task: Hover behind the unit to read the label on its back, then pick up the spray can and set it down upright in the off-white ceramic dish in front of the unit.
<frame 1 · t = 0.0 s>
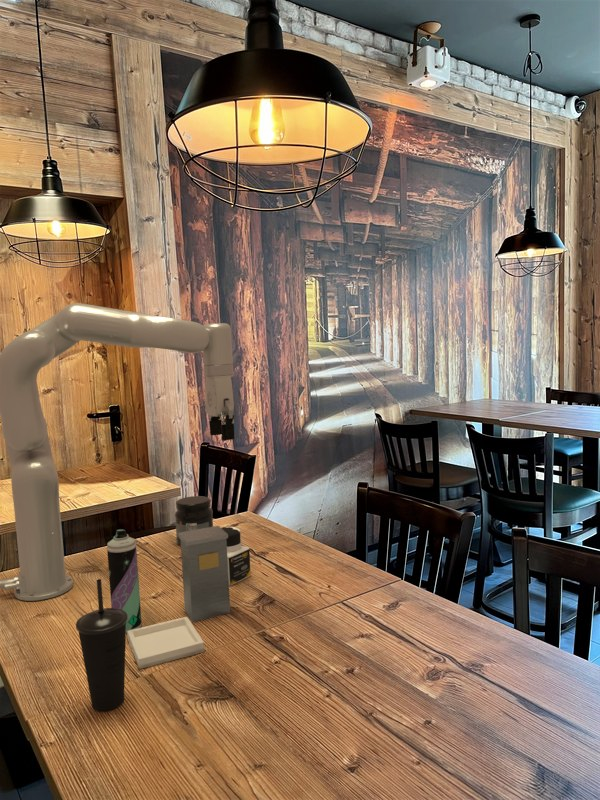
hand: (222, 437, 154), 31 cm above the table, tool pointing down, fingers open, 9 cm apart
medicine bottle: (230, 578, 141), on the table
spray can: (127, 628, 118), on the table
drinking cup: (108, 703, 93), on the table
unit: (207, 611, 123), on the table
supplement container: (195, 542, 168), on the table
dish: (165, 645, 110), on the table
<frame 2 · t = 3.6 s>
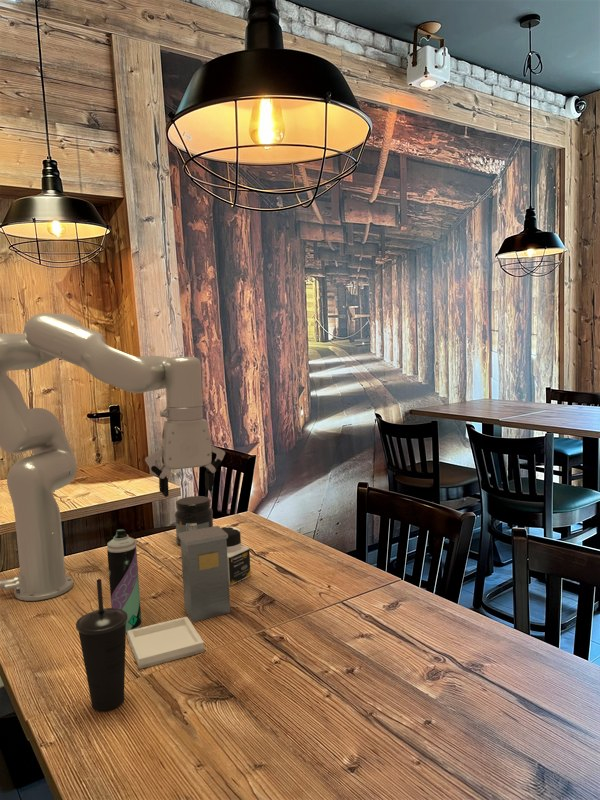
hand: (187, 492, 129), 24 cm above the table, tool pointing down, fingers open, 9 cm apart
nothing on the table moved.
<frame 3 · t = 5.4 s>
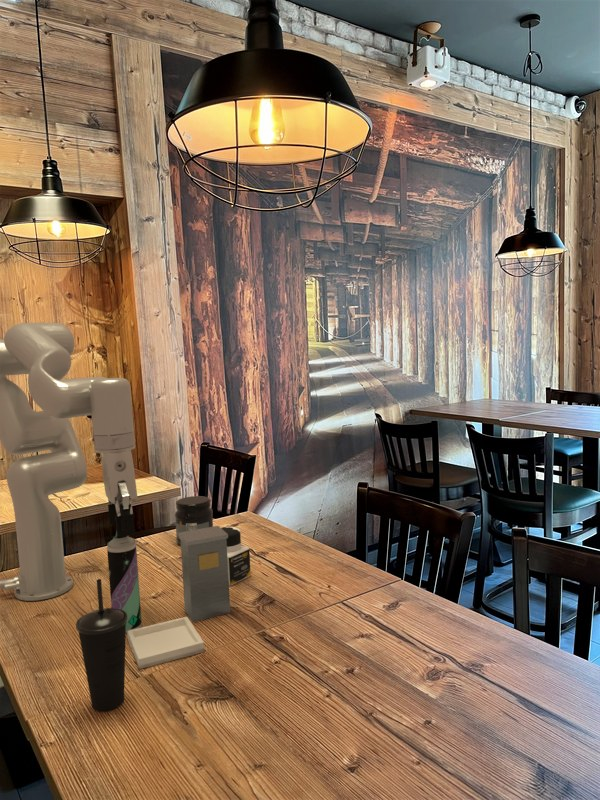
hand: (121, 528, 116), 20 cm above the table, tool pointing down, fingers open, 9 cm apart
nothing on the table moved.
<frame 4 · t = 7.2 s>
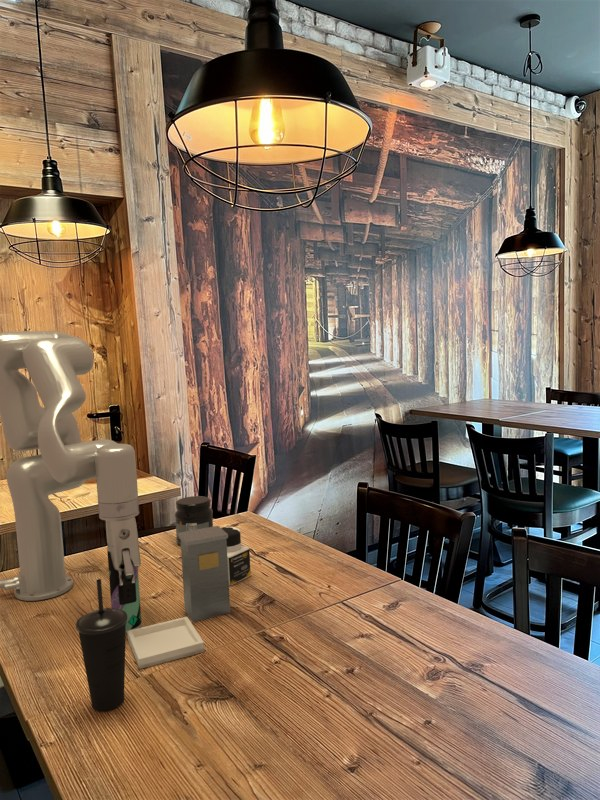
hand: (125, 596, 117), 7 cm above the table, tool pointing down, fingers closed on spray can, 5 cm apart
spray can: (127, 628, 118), on the table, touching gripper
everything else where it was.
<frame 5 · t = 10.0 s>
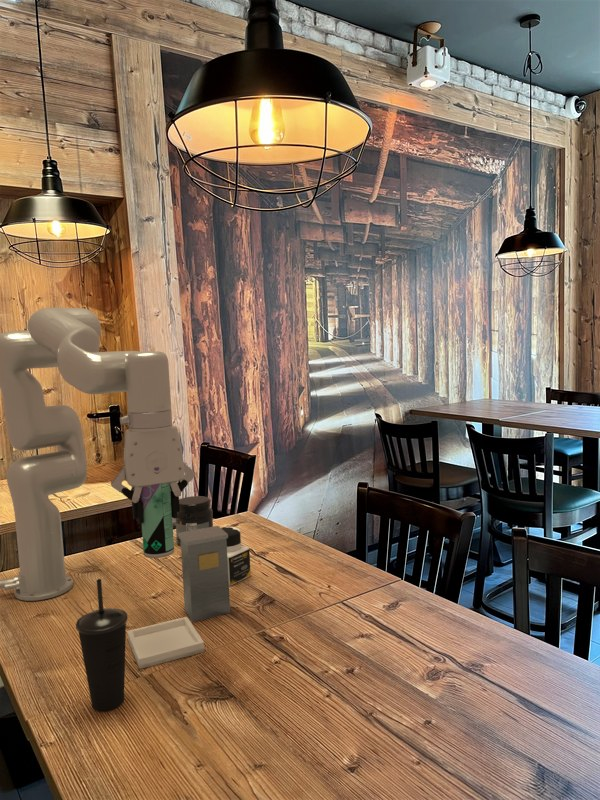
hand: (156, 518, 108), 24 cm above the table, tool pointing down, fingers closed on spray can, 5 cm apart
spray can: (159, 553, 108), point 18 cm above the table, touching gripper
everything else where it was.
when the fingers open (8 cm above the table, at t = 13.2 s): spray can drops 1 cm, resting on dish.
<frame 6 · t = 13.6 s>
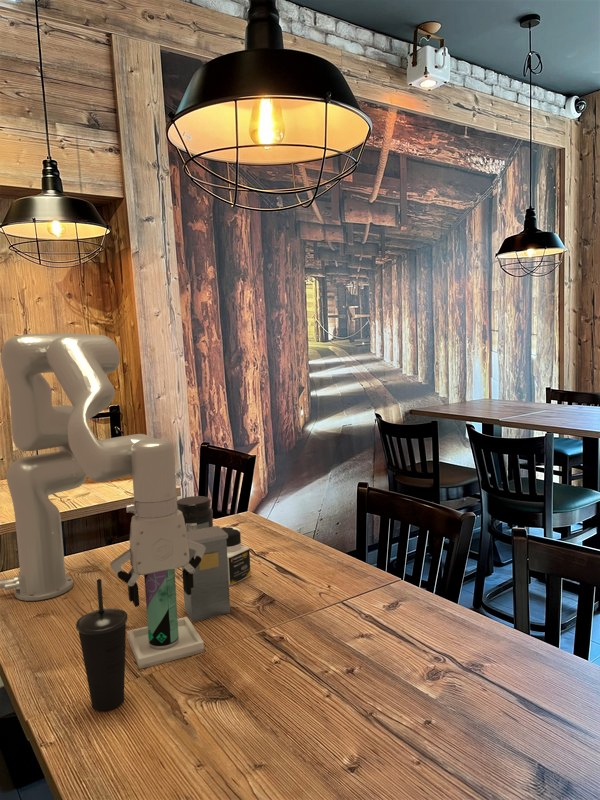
hand: (162, 597, 109), 9 cm above the table, tool pointing down, fingers open, 9 cm apart
spray can: (163, 643, 110), resting on dish
everything else where it was.
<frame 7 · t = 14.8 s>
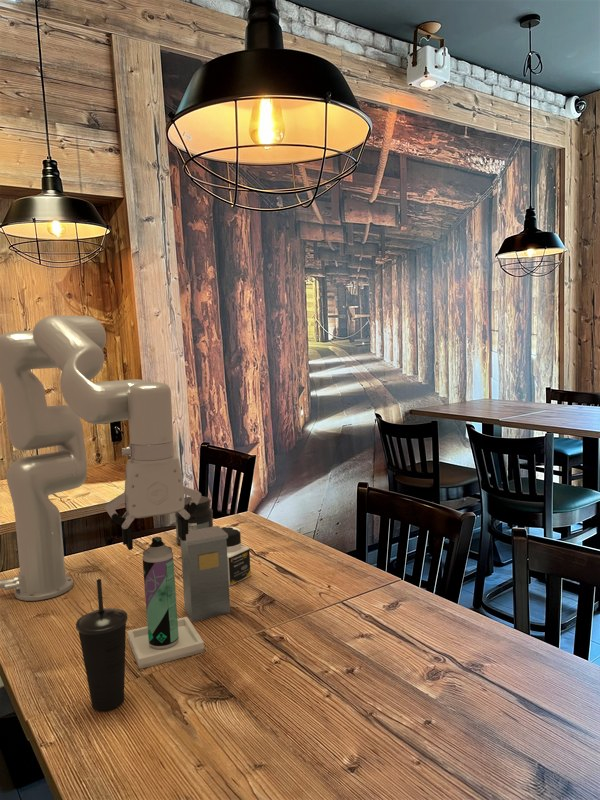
hand: (156, 543, 109), 20 cm above the table, tool pointing down, fingers open, 9 cm apart
nothing on the table moved.
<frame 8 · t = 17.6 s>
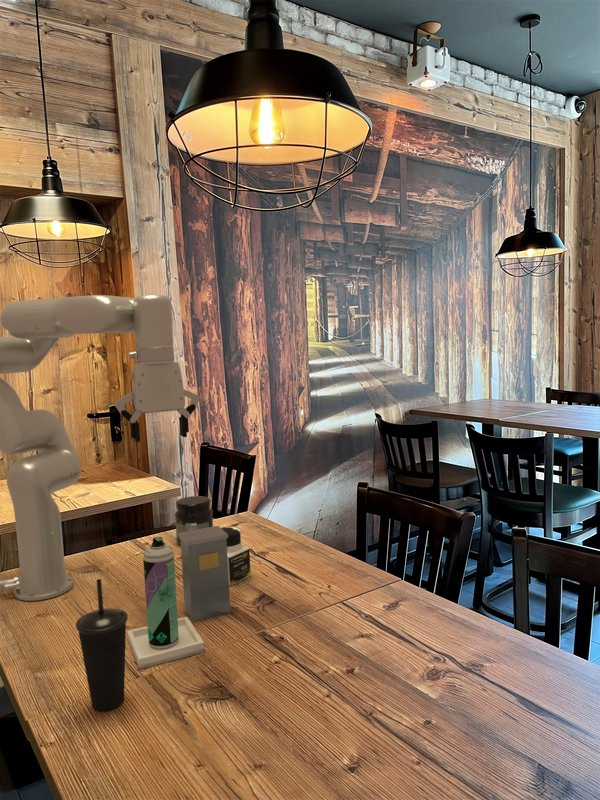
hand: (160, 438, 123), 36 cm above the table, tool pointing down, fingers open, 9 cm apart
nothing on the table moved.
at the end: spray can inside the target area on the dish (0.3 cm from its centre), point 0.4 cm above the dish's base; spray can tilted 0°; the gripper is holding nothing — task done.
